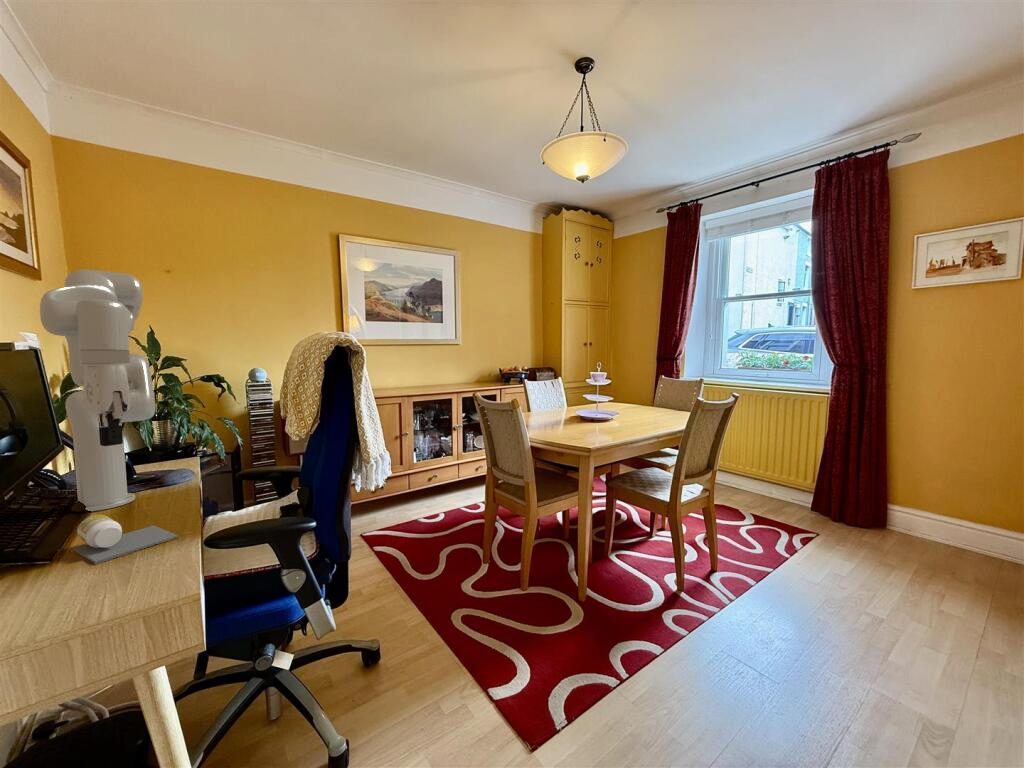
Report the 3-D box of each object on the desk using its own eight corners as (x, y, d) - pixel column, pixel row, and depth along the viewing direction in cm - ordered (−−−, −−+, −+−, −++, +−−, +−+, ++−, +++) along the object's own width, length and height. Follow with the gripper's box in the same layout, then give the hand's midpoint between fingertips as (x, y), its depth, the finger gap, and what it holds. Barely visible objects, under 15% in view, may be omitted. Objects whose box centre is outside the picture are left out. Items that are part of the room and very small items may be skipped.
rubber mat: (74, 551, 83) (73, 548, 83) (154, 527, 94) (153, 525, 94) (95, 564, 77) (95, 561, 77) (178, 538, 88) (177, 535, 88)
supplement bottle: (110, 537, 89) (124, 548, 84) (74, 543, 84) (87, 554, 79) (113, 512, 89) (128, 521, 84) (78, 516, 85) (91, 526, 79)
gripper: (68, 359, 86) (74, 444, 87) (93, 358, 79) (100, 452, 80) (115, 359, 93) (121, 438, 94) (143, 358, 85) (149, 444, 87)
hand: (111, 444), depth 87 cm, fingers closed
